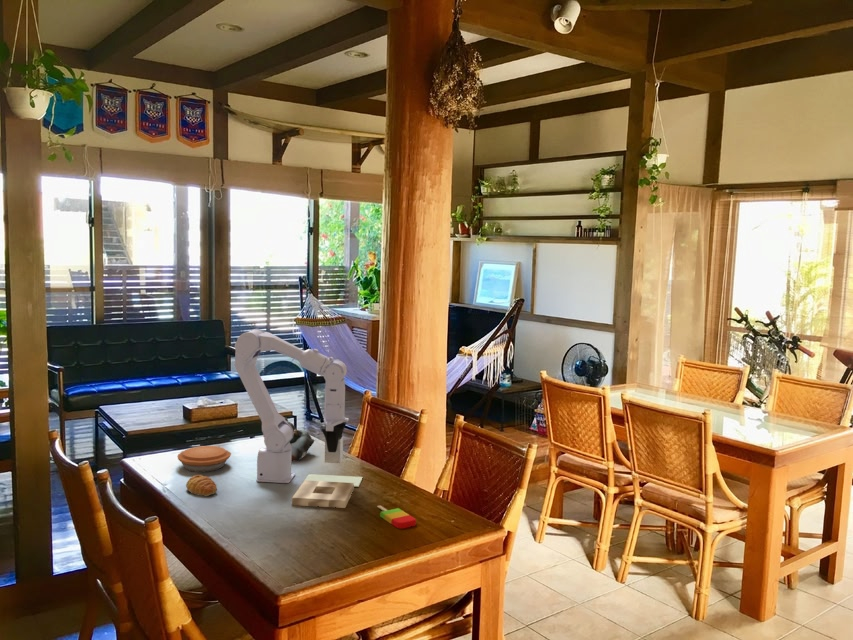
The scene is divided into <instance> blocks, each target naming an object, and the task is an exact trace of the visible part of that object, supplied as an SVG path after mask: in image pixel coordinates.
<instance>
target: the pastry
mask: <svg viewBox="0 0 853 640" xmlns="http://www.w3.org/2000/svg"><path fill="white" fill-rule="evenodd" d="M185 487H186V489H187V491H189V493H190V492H192V493H191V494H193V493H195V494H194V495H196V494H199V495H198V496H200V495H204V496H205V497H208V496H210V495H214V494H216V492H217V491H218V488H217V484H216V483H215V481H214V480H213V479H212V478H211V477H209V476H206V475H205V476H204V475H203V474H195V475H193V476H192V477H190V478H189V479H188V480H187V482H186V484H185Z"/></svg>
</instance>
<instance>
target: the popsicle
mask: <svg viewBox="0 0 853 640" xmlns="http://www.w3.org/2000/svg"><path fill="white" fill-rule="evenodd" d="M376 507H377V508H378V509H380V510H381V511H380V513H379V517H380V518H382V519H383V520H384V521H386V522H388V523H389V524H390V525H392V526H393V527H395V528H397V529H406V528H411V526H412V527H415V526H416V525H417V519H416V518H415V517H413V516H412V515H410V514H409V513H407V512H405V511H404V510H402V509H401V508H399V507H397V508H393V509H387V508H385V507H384V506H382V505H381V504H380V505H377V506H376Z"/></svg>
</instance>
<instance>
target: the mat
mask: <svg viewBox="0 0 853 640" xmlns="http://www.w3.org/2000/svg"><path fill="white" fill-rule="evenodd" d="M362 478H364V477H363V476H355V475H353V476H351V475H332V474H331V475H330V474H328V475H327V474H316V473H315V474H314V473H313V474H312V473H309V474H308V475H307V476H306V477H305V479H304V480H307V481H326V482H345V483H354V487H360V485H361V484H362V481H363V479H362Z"/></svg>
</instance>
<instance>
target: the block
mask: <svg viewBox="0 0 853 640" xmlns="http://www.w3.org/2000/svg"><path fill="white" fill-rule="evenodd" d="M343 455H344V434H342V435H340V436H339V439H338V445H337V450H336V452H328V448H327V443H326V439H325V438H324V463H331V464H341V463H342V460H343V458H344V457H343Z"/></svg>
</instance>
